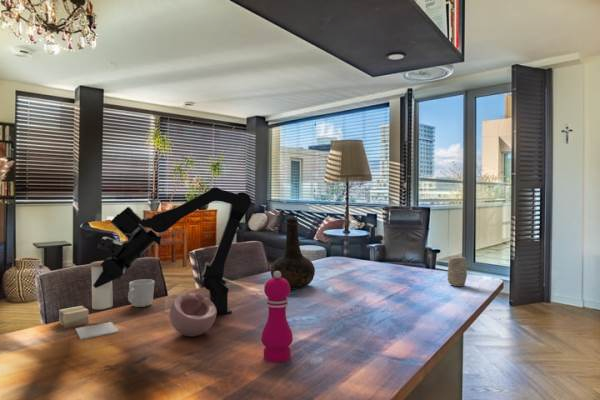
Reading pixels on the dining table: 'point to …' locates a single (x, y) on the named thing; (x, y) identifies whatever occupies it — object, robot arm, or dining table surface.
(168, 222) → the robot arm
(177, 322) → the mortar and pestle
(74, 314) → the oak block
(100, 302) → the tumbler
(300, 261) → the dark brown vase
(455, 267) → the carving
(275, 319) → the pepper mill
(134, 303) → the cup
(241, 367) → the dining table surface
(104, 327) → the mat
